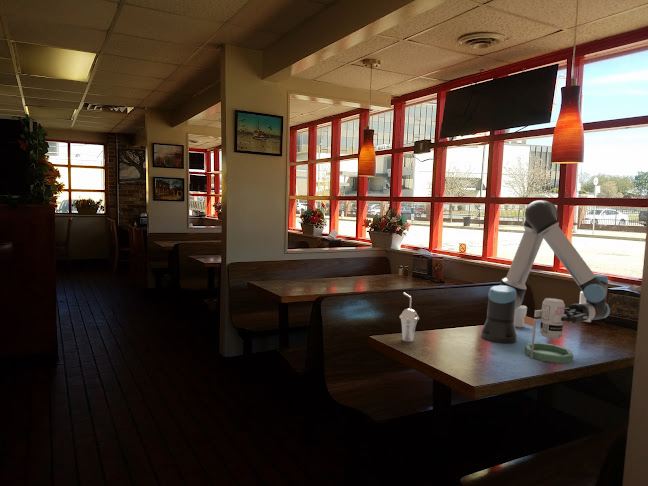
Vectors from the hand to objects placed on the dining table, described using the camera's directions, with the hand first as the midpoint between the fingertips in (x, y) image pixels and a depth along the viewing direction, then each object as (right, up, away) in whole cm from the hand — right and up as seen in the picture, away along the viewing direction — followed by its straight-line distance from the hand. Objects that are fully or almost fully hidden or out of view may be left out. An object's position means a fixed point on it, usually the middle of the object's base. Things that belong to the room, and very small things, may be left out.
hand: (544, 316), depth 188 cm
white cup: (+9, -13, +49) cm, 52 cm away
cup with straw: (-52, -13, +16) cm, 56 cm away
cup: (+3, -17, +4) cm, 17 cm away
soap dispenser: (+53, -13, +67) cm, 86 cm away
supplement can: (+4, -9, +3) cm, 10 cm away
